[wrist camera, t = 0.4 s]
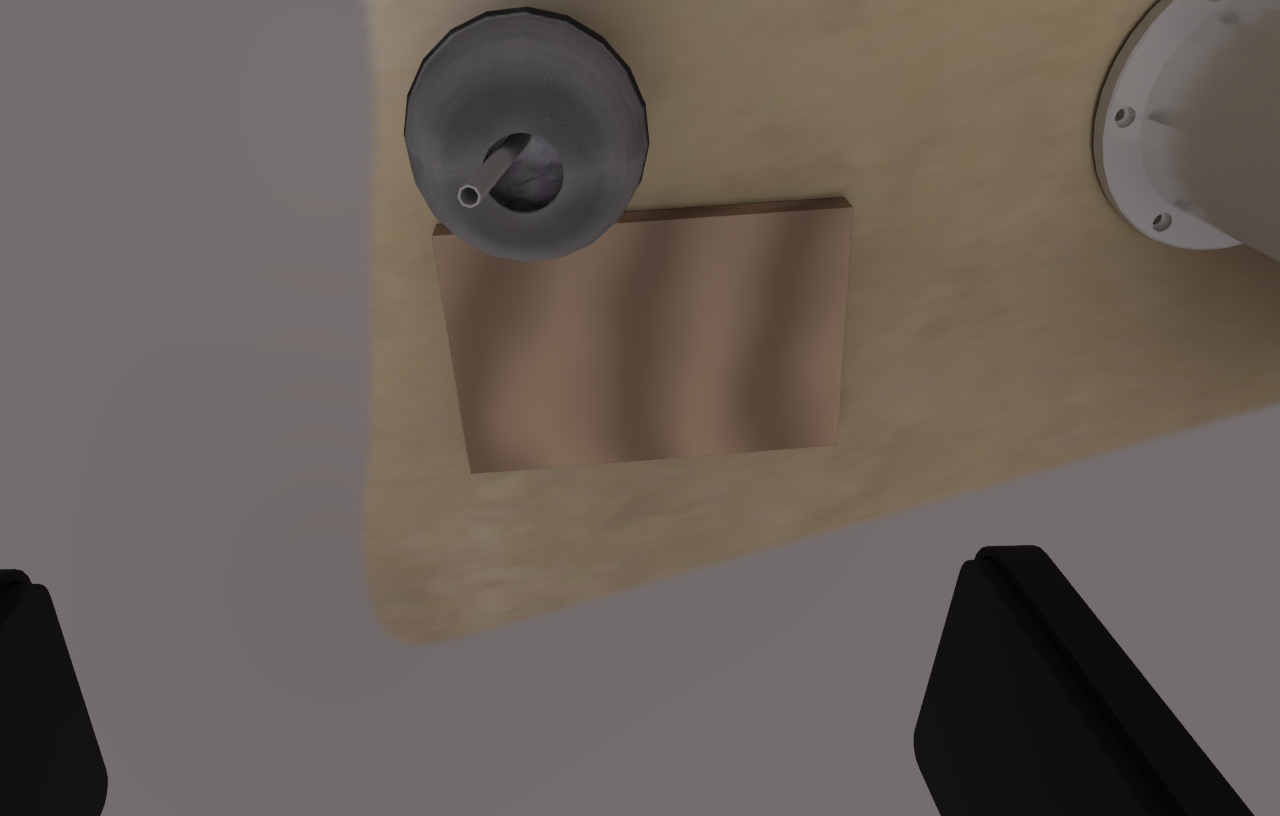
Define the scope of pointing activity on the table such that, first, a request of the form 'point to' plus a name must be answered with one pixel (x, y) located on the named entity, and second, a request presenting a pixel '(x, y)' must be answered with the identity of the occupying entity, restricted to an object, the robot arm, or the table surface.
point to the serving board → (653, 337)
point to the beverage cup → (526, 134)
